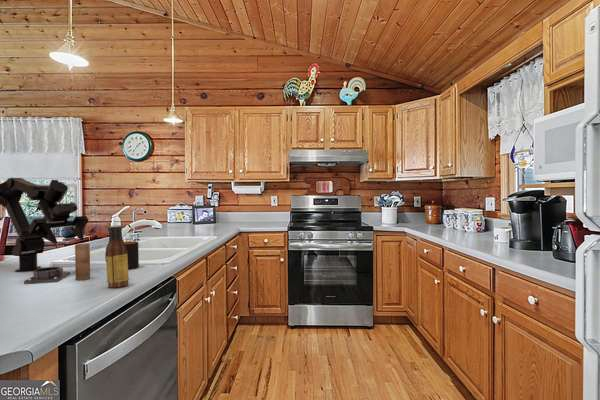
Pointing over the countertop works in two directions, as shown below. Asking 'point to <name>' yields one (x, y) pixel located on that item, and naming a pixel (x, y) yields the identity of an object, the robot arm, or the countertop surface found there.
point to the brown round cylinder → (82, 261)
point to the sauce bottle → (116, 259)
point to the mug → (132, 254)
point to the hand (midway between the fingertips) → (69, 241)
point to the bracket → (47, 275)
